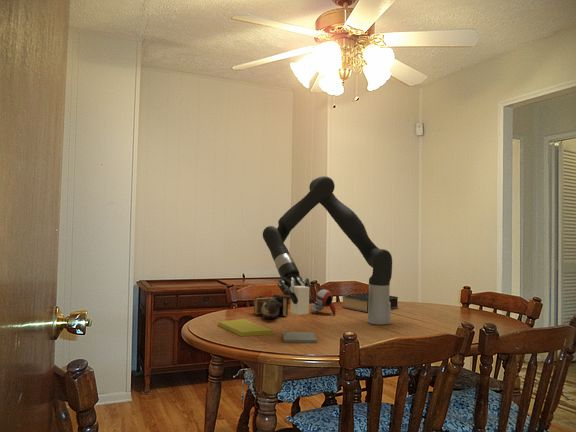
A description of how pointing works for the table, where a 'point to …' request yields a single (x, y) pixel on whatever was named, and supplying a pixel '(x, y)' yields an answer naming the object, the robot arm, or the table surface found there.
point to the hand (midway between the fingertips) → (302, 302)
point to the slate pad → (299, 337)
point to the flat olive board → (244, 327)
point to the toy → (323, 301)
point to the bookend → (271, 306)
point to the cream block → (300, 300)
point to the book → (363, 302)
